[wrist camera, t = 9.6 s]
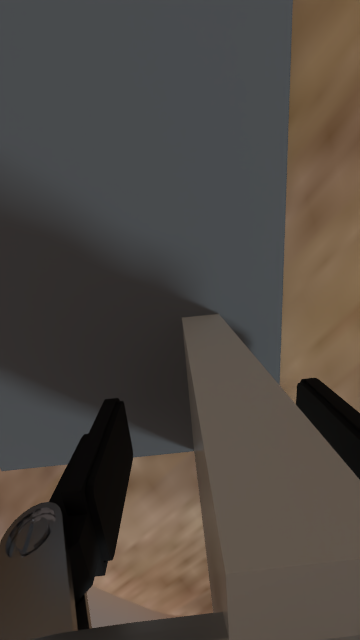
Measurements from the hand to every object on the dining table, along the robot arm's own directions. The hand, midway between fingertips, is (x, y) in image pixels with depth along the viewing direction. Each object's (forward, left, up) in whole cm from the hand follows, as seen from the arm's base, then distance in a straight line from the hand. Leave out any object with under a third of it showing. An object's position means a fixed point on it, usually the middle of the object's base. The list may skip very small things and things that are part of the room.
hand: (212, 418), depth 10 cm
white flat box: (0, 0, -2) cm, 2 cm away
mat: (-7, -4, -3) cm, 9 cm away
